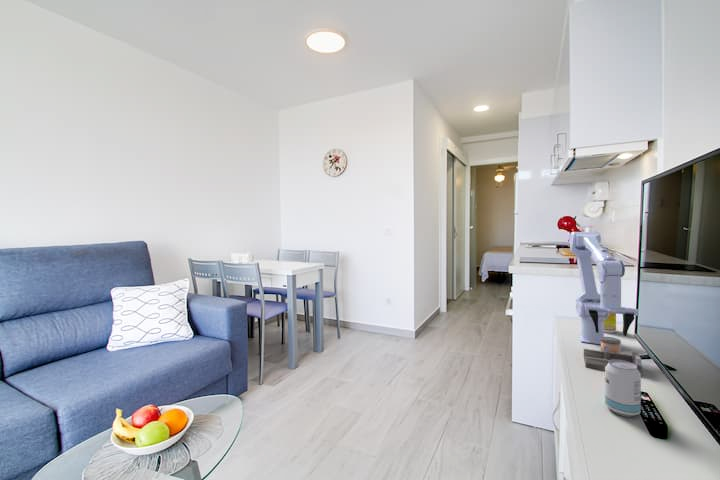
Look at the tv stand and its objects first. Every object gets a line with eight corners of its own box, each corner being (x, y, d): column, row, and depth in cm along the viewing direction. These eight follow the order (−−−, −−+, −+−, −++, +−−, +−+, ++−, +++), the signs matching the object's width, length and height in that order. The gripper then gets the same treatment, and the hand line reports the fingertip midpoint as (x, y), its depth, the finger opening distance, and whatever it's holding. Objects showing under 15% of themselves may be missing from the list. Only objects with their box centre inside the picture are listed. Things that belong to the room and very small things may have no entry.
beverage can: (605, 400, 86) (605, 356, 86) (640, 409, 82) (640, 362, 81) (604, 412, 81) (604, 365, 80) (641, 422, 76) (641, 372, 76)
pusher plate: (603, 357, 110) (603, 345, 109) (607, 358, 109) (607, 346, 109) (605, 364, 104) (605, 352, 104) (609, 364, 104) (609, 352, 104)
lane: (583, 356, 114) (583, 342, 114) (635, 363, 107) (635, 348, 107) (585, 367, 106) (585, 352, 105) (641, 376, 98) (641, 360, 98)
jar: (599, 352, 117) (599, 335, 117) (619, 354, 114) (619, 338, 114) (601, 357, 112) (601, 340, 112) (622, 360, 110) (622, 343, 109)
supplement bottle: (619, 333, 135) (619, 303, 134) (601, 333, 136) (601, 302, 136) (610, 328, 141) (610, 299, 141) (593, 328, 143) (593, 299, 142)
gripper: (586, 295, 113) (586, 333, 113) (640, 299, 105) (640, 340, 106) (584, 291, 119) (584, 328, 119) (635, 294, 111) (635, 333, 112)
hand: (610, 333), depth 113 cm, fingers open, 7 cm apart
